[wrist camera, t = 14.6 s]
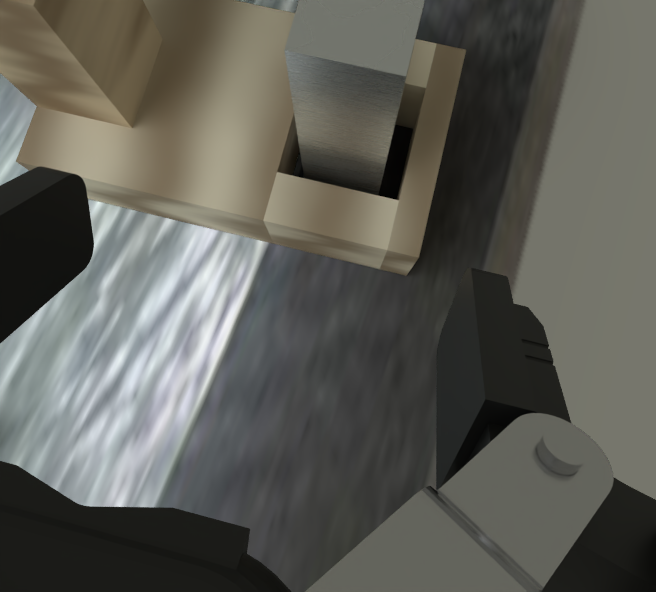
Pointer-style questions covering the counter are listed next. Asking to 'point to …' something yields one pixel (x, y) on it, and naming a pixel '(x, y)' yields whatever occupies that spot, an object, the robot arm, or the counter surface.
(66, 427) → the counter surface
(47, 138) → the post base
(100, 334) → the counter surface
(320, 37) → the square post
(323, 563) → the counter surface
